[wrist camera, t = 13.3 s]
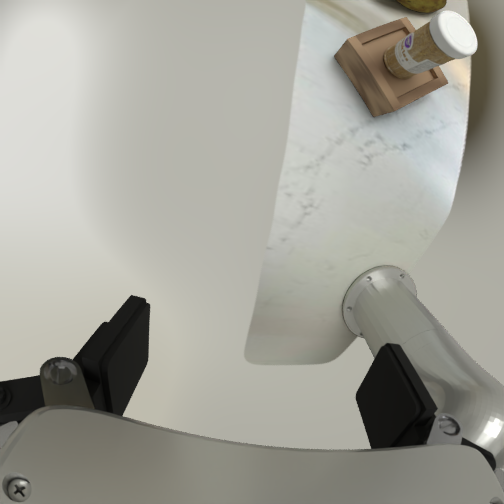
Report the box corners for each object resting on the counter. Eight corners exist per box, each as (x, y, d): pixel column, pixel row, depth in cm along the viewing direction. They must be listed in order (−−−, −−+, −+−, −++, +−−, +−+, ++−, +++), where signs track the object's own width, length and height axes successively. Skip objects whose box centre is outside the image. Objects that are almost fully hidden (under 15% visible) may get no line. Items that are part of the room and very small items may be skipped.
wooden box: (423, 90, 33) (448, 83, 26) (373, 117, 35) (394, 111, 28) (386, 33, 31) (406, 17, 24) (333, 56, 32) (347, 39, 26)
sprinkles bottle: (380, 44, 26) (433, 3, 14) (412, 50, 26) (472, 17, 14) (385, 78, 28) (445, 47, 15) (417, 82, 28) (483, 60, 15)
